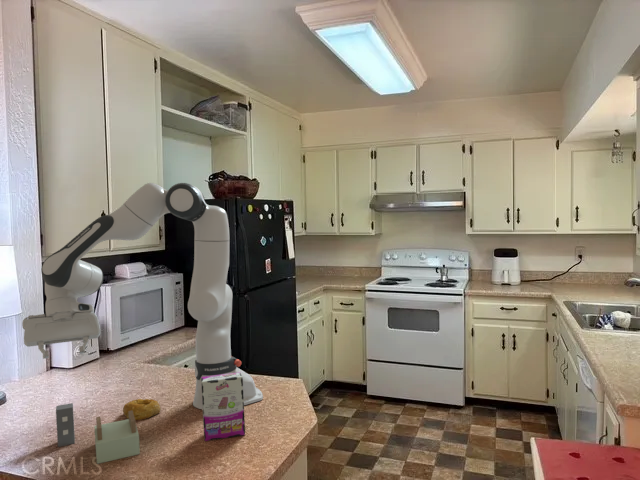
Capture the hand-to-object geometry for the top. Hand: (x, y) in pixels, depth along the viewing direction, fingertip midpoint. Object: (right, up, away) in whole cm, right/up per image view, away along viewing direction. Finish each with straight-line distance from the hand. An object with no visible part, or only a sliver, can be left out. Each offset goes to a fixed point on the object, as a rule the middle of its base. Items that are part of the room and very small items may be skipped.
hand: (64, 355), depth 141 cm
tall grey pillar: (+6, -21, -10) cm, 24 cm away
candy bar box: (+48, -20, -8) cm, 53 cm away
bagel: (+20, -21, +8) cm, 30 cm away
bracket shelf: (+22, -21, -15) cm, 33 cm away
